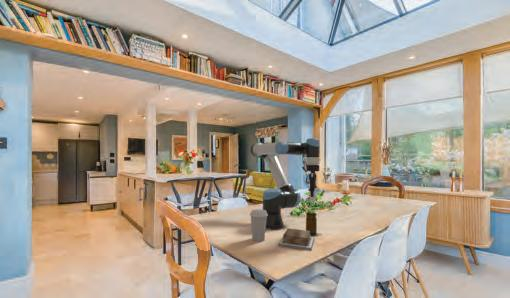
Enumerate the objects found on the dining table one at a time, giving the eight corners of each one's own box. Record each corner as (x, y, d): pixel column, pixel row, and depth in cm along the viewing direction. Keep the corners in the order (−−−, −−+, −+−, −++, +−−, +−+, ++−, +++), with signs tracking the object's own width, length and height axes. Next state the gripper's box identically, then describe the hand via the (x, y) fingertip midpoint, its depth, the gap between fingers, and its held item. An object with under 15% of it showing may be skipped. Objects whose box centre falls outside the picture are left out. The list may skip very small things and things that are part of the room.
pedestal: (283, 242, 117) (283, 234, 117) (287, 235, 129) (287, 228, 129) (307, 246, 113) (307, 237, 114) (310, 238, 125) (310, 230, 125)
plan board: (278, 245, 116) (278, 243, 116) (284, 236, 131) (284, 233, 131) (311, 250, 111) (311, 247, 111) (314, 239, 126) (314, 237, 126)
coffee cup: (246, 237, 127) (247, 209, 128) (262, 235, 131) (263, 208, 131) (253, 243, 118) (253, 213, 119) (270, 241, 122) (270, 212, 123)
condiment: (310, 231, 142) (310, 211, 142) (322, 234, 135) (322, 213, 136) (302, 233, 137) (302, 212, 137) (314, 237, 130) (314, 215, 131)
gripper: (318, 164, 126) (318, 204, 125) (320, 164, 150) (320, 198, 148) (304, 164, 128) (304, 203, 127) (308, 164, 152) (308, 197, 151)
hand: (312, 200), depth 138 cm, fingers open, 13 cm apart
